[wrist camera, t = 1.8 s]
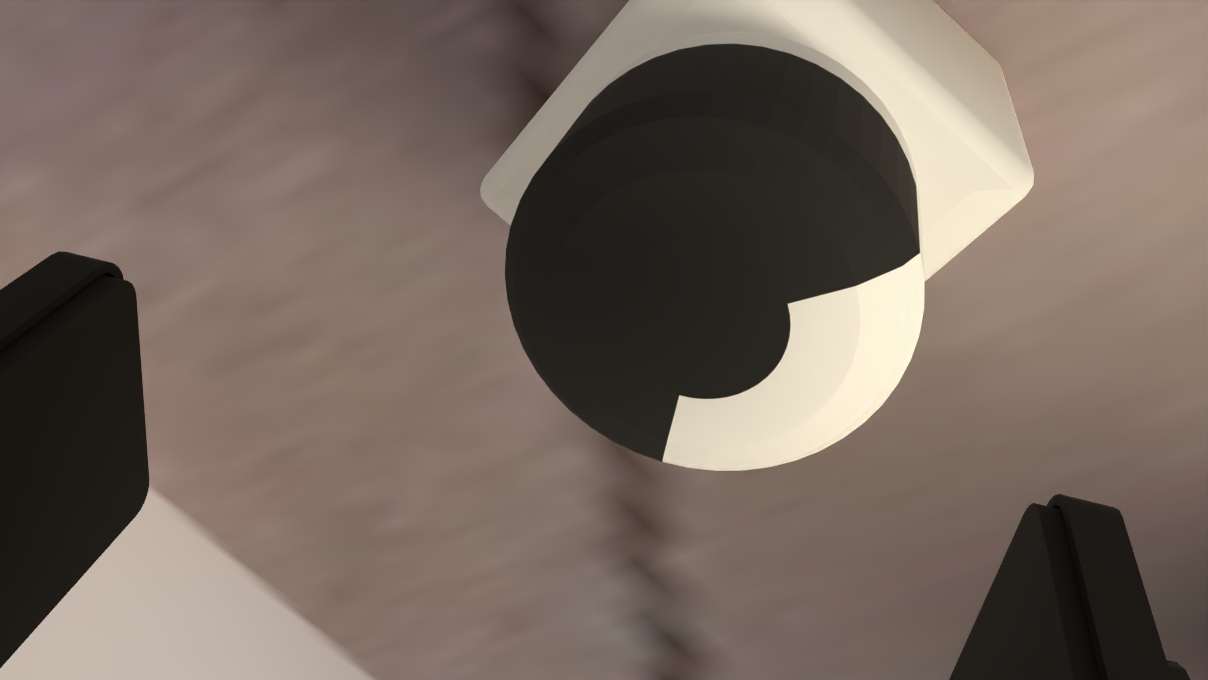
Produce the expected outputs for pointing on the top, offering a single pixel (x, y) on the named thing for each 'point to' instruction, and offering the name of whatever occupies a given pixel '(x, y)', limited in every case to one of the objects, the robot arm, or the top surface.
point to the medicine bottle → (749, 217)
